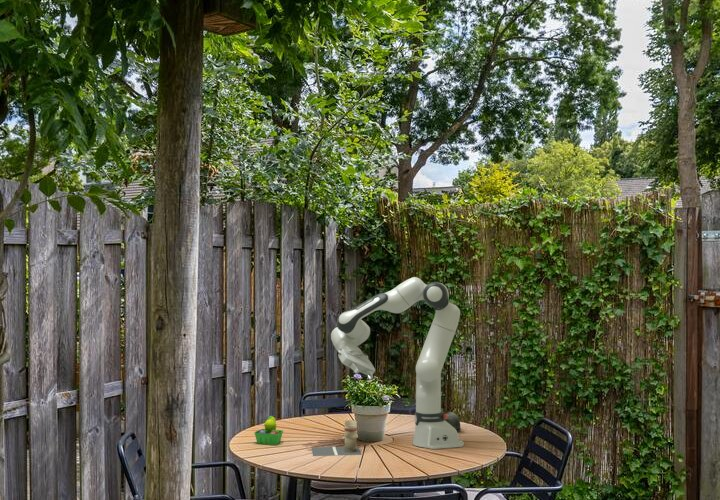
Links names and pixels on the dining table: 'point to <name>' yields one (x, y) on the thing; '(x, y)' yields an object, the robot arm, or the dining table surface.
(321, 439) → the dining table surface
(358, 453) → the lane mat
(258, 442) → the fruit basket
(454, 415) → the rock
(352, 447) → the skittle
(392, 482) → the dining table surface
